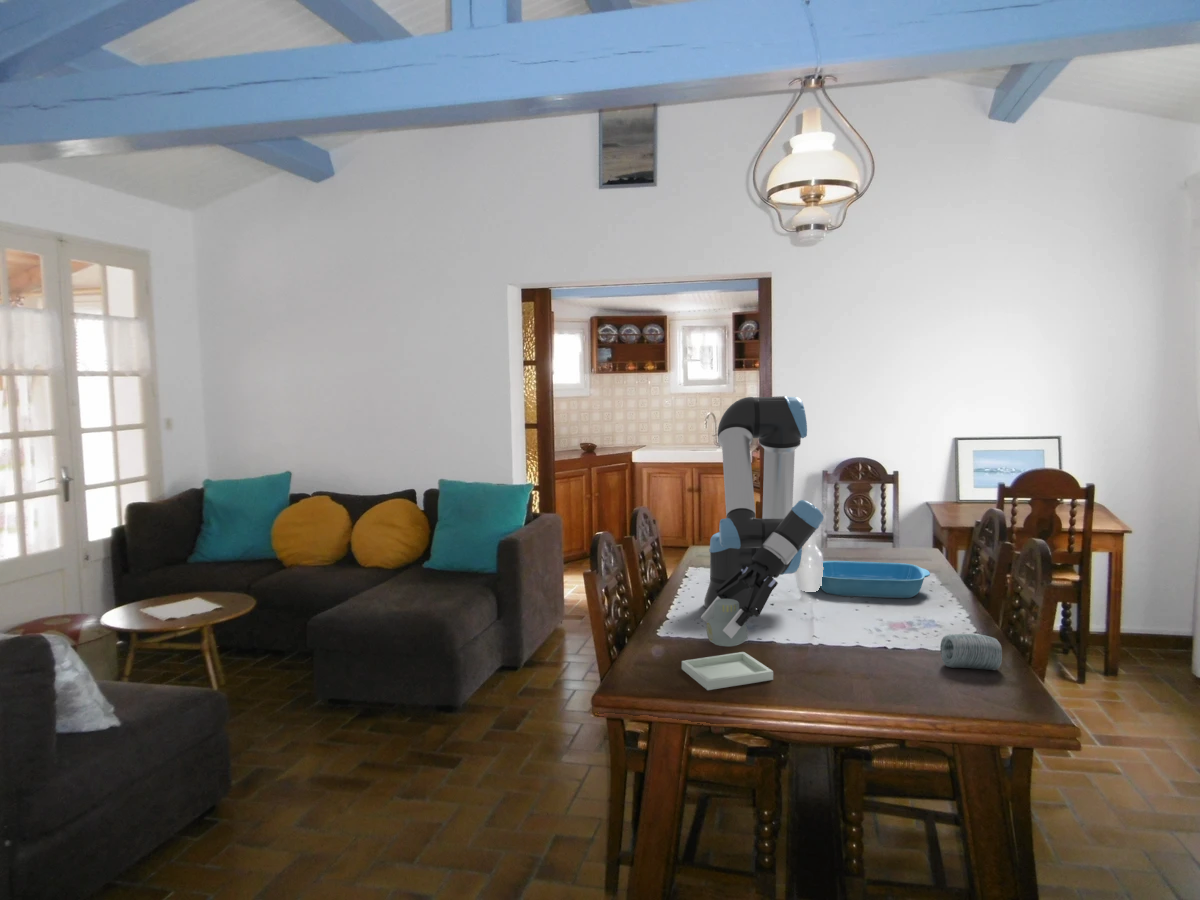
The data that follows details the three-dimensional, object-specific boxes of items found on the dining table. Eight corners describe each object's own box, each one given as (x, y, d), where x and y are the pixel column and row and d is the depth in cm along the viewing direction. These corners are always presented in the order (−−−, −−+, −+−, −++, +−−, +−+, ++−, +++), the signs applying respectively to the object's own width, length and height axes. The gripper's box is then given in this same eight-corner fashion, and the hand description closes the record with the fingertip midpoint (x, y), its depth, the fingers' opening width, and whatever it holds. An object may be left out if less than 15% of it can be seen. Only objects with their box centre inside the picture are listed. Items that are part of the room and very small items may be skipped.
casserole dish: (809, 597, 259) (809, 575, 259) (809, 579, 281) (809, 558, 280) (934, 603, 250) (934, 580, 250) (924, 584, 272) (924, 562, 271)
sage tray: (681, 670, 200) (681, 660, 200) (743, 661, 206) (743, 651, 206) (707, 692, 187) (707, 681, 187) (773, 681, 193) (773, 671, 192)
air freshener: (704, 636, 200) (704, 596, 199) (738, 634, 201) (738, 594, 200) (714, 651, 190) (714, 609, 189) (749, 650, 190) (749, 607, 189)
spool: (938, 660, 194) (949, 619, 197) (933, 664, 203) (943, 626, 205) (1000, 680, 190) (1010, 639, 192) (992, 684, 198) (1001, 644, 201)
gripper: (810, 577, 188) (750, 652, 184) (758, 556, 209) (703, 623, 206) (790, 556, 186) (729, 632, 182) (740, 537, 207) (684, 604, 204)
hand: (715, 627), depth 194 cm, fingers closed on air freshener, 10 cm apart
